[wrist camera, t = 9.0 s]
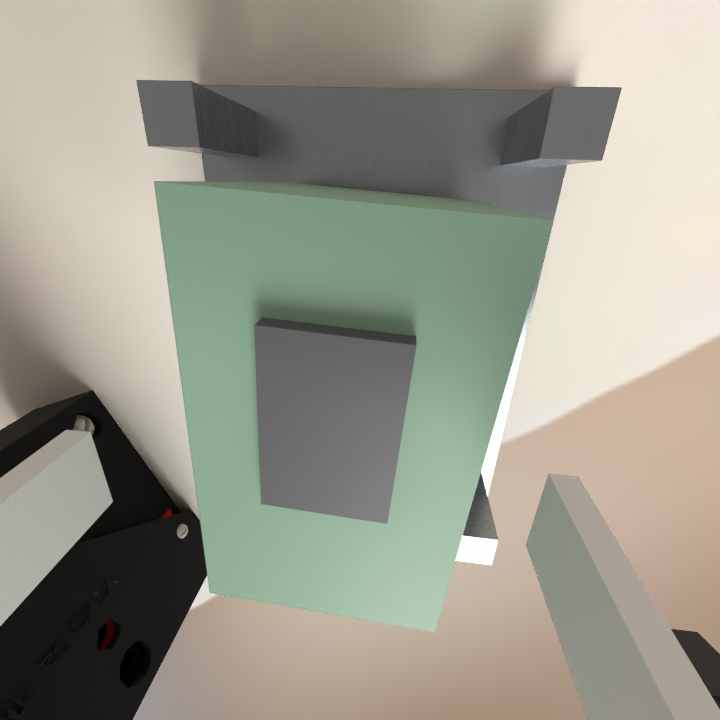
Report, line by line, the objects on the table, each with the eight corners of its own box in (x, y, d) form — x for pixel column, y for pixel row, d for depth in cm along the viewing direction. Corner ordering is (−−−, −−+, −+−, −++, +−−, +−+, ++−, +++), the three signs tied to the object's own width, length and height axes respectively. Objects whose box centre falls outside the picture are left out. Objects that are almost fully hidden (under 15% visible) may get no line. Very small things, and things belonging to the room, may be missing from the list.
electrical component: (14, 416, 30) (-566, 758, 12) (112, 383, 28) (-437, 754, 10) (137, 563, 37) (-126, 933, 19) (226, 548, 34) (22, 957, 16)
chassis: (247, 463, 29) (202, 539, 23) (203, 89, 19) (102, 43, 13) (484, 489, 28) (506, 579, 21) (575, 95, 18) (668, 47, 11)
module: (282, 440, 24) (200, 607, 15) (281, 181, 18) (132, 180, 8) (426, 461, 24) (438, 650, 14) (479, 201, 17) (569, 224, 8)
